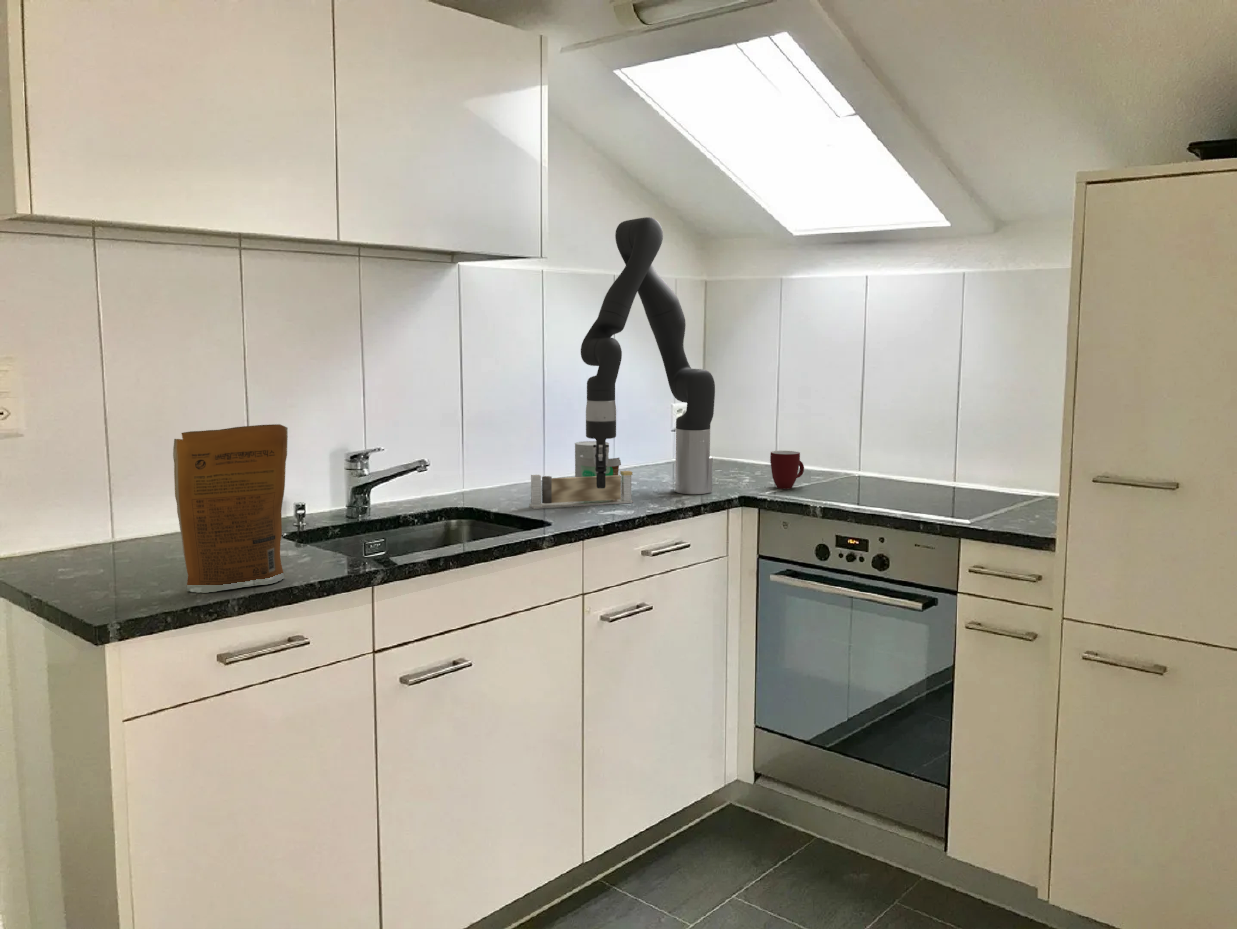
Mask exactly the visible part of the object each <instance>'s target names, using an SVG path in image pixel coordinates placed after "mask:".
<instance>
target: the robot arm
mask: <svg viewBox="0 0 1237 929" xmlns="http://www.w3.org/2000/svg"><path fill="white" fill-rule="evenodd" d="M614 236H615V237H614V238H615V243H616V247H617V249H618V252H619V255H620V257H621V259H622V260H623V262H624V264H625V266H624V268H623V269H622V271H621V273H619V275H618V276H617V278H616V279H615V280H614V282H613V283H612V284H611V285H610V287H609V289H608V290H607V292H606V294H605V296H604V297H603V301H602V303H601V307H600V310H599V312H598V315H597V316H598V317H597V318H596V320H595V321H594V322H593V323H592V326H590V329H589V330H588V331H587V333H586V334H585V336H584V338H583V339H582V342H581V346H580V357H581V360H582V362H583V363H584V364H586V365H588V366H592V367H598V369H597V371H596V375H593V376H590V377H589V378H588V379H587V381H586V404H585V405H586V407H585V437H586V438H588V439H594V440H595V441H596V445H593V453H594V464H595V465H596V468H595V470H596V473H597V488H605V486H606V471H607V469H606V468H607V466H606V465H607V464H608V453H609V452H610V444H609V445H606V442H607V440H609V439H615V438H616V437H617V406H616V384H617V383H616V382H617V378H618V375H619V371H620V368H621V367H620V366H621V362H622V356H623V351H622V347H621V344H620V343H619V340H617V339H616V338H614V337H613V336H614V335H617V334H619V333H622V331H623V330H624V329H625V326H626V324H627V321H628V318H629V314H630V312H631V309H632V307H633V306H632V305H633V304H634V300H635V297H636V296H637V294H638V296H639V299H640V301H641V304H642V306H643V309H644V312H645V316H646V318H647V321H648V324H649V326H650V329H651V332H652V334H653V336H654V339H655V342H656V346H657V348H658V351H659V354H660V355H661V359H662V364H663V365H664V366H663V367H664V370H665V374H666V378H667V381H668V387H669V389H670V392H671V393H672V396H673V397H674V398H675V399H676V400H677V401H679V402H681V403H685V404H686V410H685V412H684V414H682V415H680V416H678V417H677V418H676V422H675V472H674V473H675V479H674V480H675V484H674V485H675V486H674V487H675V488H674V491H675V493H678V494H684V495H703V494H704V495H705V494H709V493H713V478H714V477H713V476H714V475H713V473H714V472H713V470H714V469H713V463H714V460H713V459H714V458H713V457H712V456H711V451H710V450H711V423H712V421H713V417H714V414H715V413H714V411H715V398H716V384H715V380H714V376H713V374H712V373H711V372H710V371H708V370H707V369H704V368H692V367H691V365H690V362H689V361H688V359H687V355H686V353H685V349H684V348H685V346H684V345H685V344H684V341H685V334H686V327H687V326H686V324H687V323H686V318H685V313H684V311H683V308H682V306H681V303H680V300H679V298H678V296H677V294H676V293H675V291H674V290H673V289H672V288H671V286H670V285H668V283H667V282H666V281H665V280H664V278H663V277H662V276H660V275H659V273H658V271H656V270H655V268H654V266H653V264H652V263H653V262H654V260H655V258H656V256H657V255H658V253H659V250H660V249H661V246H662V243H663V239H664V230H663V228H662V225H661V223H660V222H659V221H658V220H657V219H655V218H654V217H645V216H644V217H639V218H638V217H637V218H634V219H633V218H632V219H627V220H624V221H621V222H620V223H619V224H618V225H617V226H616V230H615V234H614Z"/></svg>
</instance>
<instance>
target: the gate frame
mask: <svg viewBox="0 0 1237 929" xmlns="http://www.w3.org/2000/svg"><path fill="white" fill-rule="evenodd" d="M619 475H620V476H621V499H619V500H599V501H579V502H560V503H549V504H545V503H542V476H541V475H540V474H530V503H529V505H528V506H529V507H530V508H532V509H533V510H538V509H554V508H555V509H556V508H570V507H573V506H574V507H584V506H585V507H587V506H602V505H617V504H619V505H620V504H632V503H633V501H634V500H632V476H633V471H631V470H620V472H619Z"/></svg>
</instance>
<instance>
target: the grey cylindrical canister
mask: <svg viewBox="0 0 1237 929" xmlns="http://www.w3.org/2000/svg"><path fill="white" fill-rule="evenodd" d="M593 445H596V440H593V441H588V440H586V441H578V442H574V477H582V475H581V465H579V464H578V461H579V458H580V456H581V455H583V458H591V459H594V453H593ZM606 445H609V446H610V443H609V442H607V441H606ZM609 455H610V454H609V453H608V459H610V456H609Z"/></svg>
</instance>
